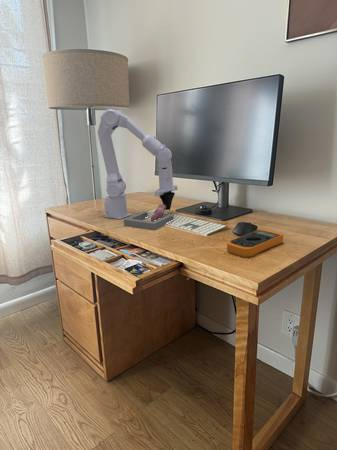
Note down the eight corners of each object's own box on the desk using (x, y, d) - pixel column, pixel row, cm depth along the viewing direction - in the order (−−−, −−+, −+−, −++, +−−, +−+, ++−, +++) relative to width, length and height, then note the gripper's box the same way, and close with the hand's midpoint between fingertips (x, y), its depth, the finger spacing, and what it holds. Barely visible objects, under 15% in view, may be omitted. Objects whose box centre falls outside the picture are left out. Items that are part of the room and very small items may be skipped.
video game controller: (159, 225, 126) (166, 210, 124) (149, 220, 126) (155, 205, 124) (162, 218, 135) (169, 204, 133) (153, 214, 135) (159, 199, 133)
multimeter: (223, 252, 92) (223, 241, 91) (261, 237, 102) (261, 227, 101) (246, 260, 86) (247, 248, 85) (284, 243, 96) (285, 233, 95)
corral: (124, 225, 123) (123, 219, 123) (144, 217, 134) (143, 211, 133) (154, 230, 115) (154, 223, 114) (173, 221, 125) (173, 215, 125)
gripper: (163, 181, 123) (165, 214, 126) (182, 175, 134) (184, 206, 138) (149, 180, 126) (151, 212, 130) (169, 175, 138) (170, 205, 142)
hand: (167, 209), depth 134 cm, fingers closed
